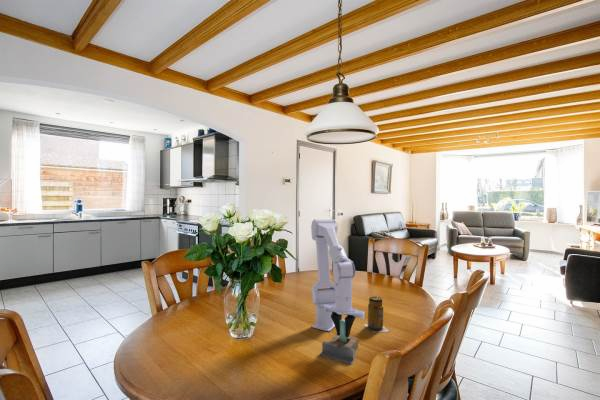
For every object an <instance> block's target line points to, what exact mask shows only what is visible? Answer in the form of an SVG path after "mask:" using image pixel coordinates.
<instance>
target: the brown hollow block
mask: <svg viewBox="0 0 600 400" xmlns="http://www.w3.org/2000/svg"><path fill="white" fill-rule="evenodd" d="M328 342H329V343H333V344H336V345H340V346H344V347H348V348H352V349H355V353H356V352H357V350H358V349H359V338H357V337H354V336H351V335H350V336H349V337H348V338H347V342H346V343H342V342H340V335H337V333H336V334H335V335H334V336H333V337H332V338H330V340H328Z"/></svg>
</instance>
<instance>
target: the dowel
mask: <svg viewBox="0 0 600 400" xmlns="http://www.w3.org/2000/svg"><path fill="white" fill-rule="evenodd" d="M340 342H342V343H346V342H347V337H346V325H345V318H344V319H342V320H340Z"/></svg>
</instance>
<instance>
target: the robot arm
mask: <svg viewBox="0 0 600 400" xmlns="http://www.w3.org/2000/svg"><path fill="white" fill-rule="evenodd" d="M310 228H311V229H310V231H311V239H312V240H313V241H315V247H316V258H317V259H316V261H317V262H316V263H317V277H318V278H317V279H318V280H317V281H316V282H315V283H313V285H312V287H311V301H312V304H313V305H314V306H315V323H314V324H313V325H312V326H311V328H312V329H313V328H314V329H317V330H321V331H326V332H331V331H333V329H334V328H335V330H336V334H337V335H340V320H342V317H343V315H345V318H344V320H345V325H346V337H347V338H348V337H349V336H350V337H351V331H352V328H353V325H354V324H353V323H354V321H355V320H356V318H359V319H360V320H364V319H365V318H366V316H365V315H366V311H363V310H359V309H357V308H354V307H353V278H355V276H356V266H355V264H354V261H353V260H351V259H350V258H348V256H347V253H346V250H345V248H344V246H342V245H340V243H339V240H338V236H337V231H338V222H337V220H336V219H335V218H333V219H332V218H331V219H315V218H314V219H313V220H312V221H311V226H310ZM329 257H330V260H331V263H332V274H333V281H332V280H331V277H330V261H329Z"/></svg>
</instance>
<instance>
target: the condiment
mask: <svg viewBox="0 0 600 400" xmlns="http://www.w3.org/2000/svg"><path fill="white" fill-rule="evenodd" d="M367 308H368V309H367V323H365V324H363V326H364V327H366V329H368V330H369V331H371V333H372V334H377V333H387V332H390V330H389V329H388V328H386V327H385V326H384V305H383V298H382V297H379V296H370V297H369V299H368V305H367Z"/></svg>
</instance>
